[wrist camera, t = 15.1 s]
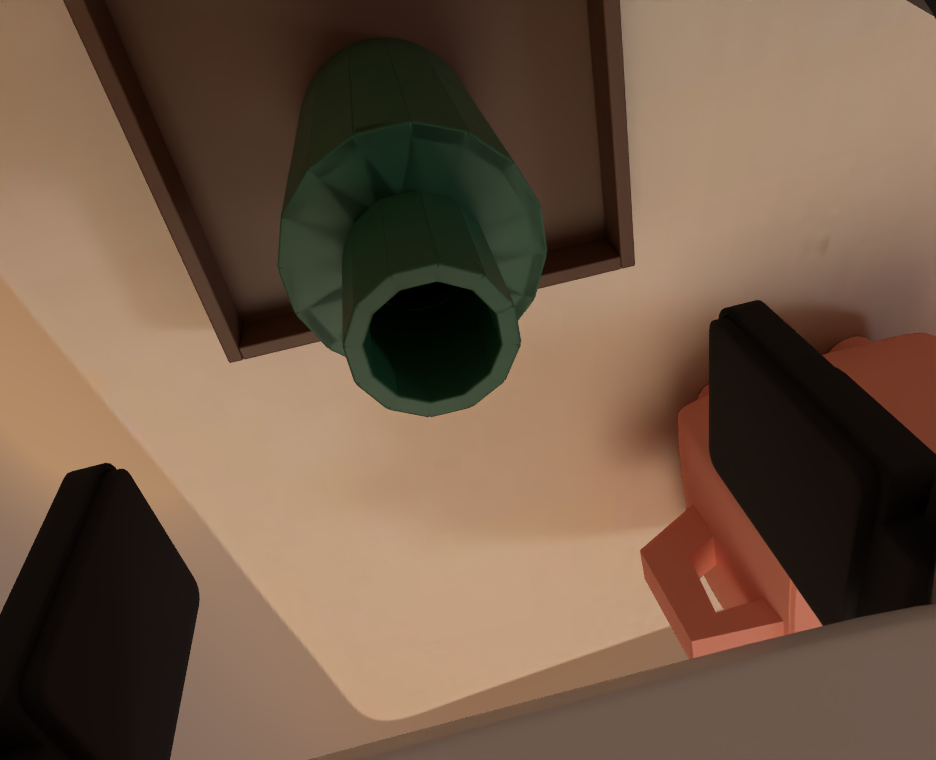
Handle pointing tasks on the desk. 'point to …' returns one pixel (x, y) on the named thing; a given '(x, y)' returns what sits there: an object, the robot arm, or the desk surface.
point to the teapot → (732, 533)
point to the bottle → (408, 229)
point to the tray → (278, 109)
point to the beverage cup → (926, 5)
